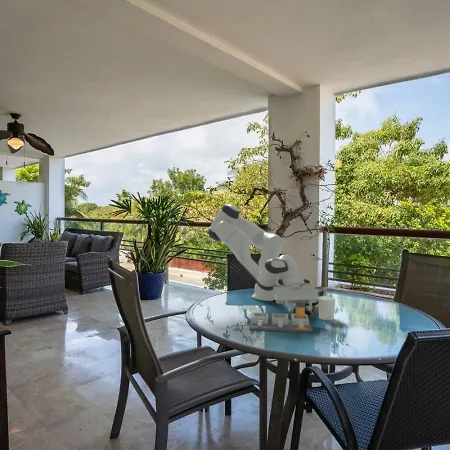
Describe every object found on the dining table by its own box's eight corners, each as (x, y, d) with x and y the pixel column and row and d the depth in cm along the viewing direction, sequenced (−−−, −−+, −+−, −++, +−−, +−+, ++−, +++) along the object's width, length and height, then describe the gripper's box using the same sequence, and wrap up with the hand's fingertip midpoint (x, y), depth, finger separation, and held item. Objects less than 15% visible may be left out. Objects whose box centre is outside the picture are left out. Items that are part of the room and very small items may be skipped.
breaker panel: (250, 320, 170) (250, 311, 170) (308, 322, 167) (308, 314, 167) (249, 329, 156) (249, 320, 156) (312, 332, 153) (312, 323, 153)
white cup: (334, 316, 177) (335, 296, 176) (335, 321, 169) (335, 300, 169) (318, 315, 179) (318, 295, 178) (317, 320, 171) (318, 299, 171)
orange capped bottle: (293, 322, 164) (294, 302, 163) (300, 321, 165) (301, 301, 165) (299, 324, 160) (299, 305, 160) (306, 323, 162) (306, 304, 162)
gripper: (273, 281, 167) (280, 307, 158) (314, 280, 171) (323, 306, 161) (270, 288, 172) (276, 315, 162) (310, 287, 175) (319, 313, 166)
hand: (300, 310), depth 162 cm, fingers open, 8 cm apart
